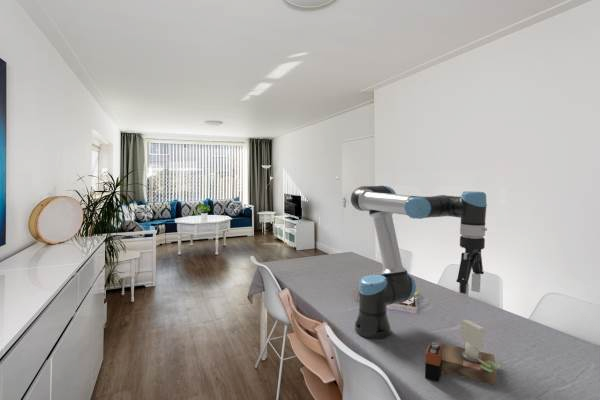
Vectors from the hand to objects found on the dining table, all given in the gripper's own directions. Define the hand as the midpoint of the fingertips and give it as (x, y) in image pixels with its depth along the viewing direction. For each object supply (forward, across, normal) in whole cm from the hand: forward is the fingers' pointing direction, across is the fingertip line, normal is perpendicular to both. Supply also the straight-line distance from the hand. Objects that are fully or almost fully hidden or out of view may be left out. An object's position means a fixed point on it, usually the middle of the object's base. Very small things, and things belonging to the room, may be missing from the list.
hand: (469, 296), depth 111 cm
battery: (+25, -14, +6) cm, 30 cm away
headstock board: (+25, -3, +1) cm, 25 cm away
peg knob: (+21, -3, -3) cm, 21 cm away
